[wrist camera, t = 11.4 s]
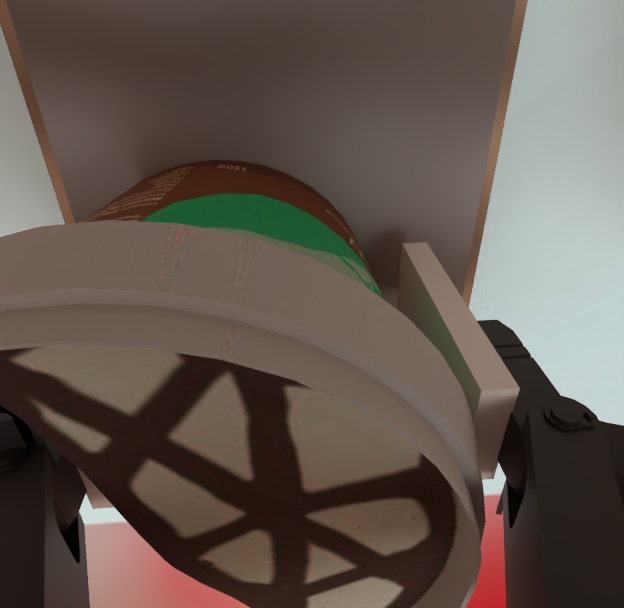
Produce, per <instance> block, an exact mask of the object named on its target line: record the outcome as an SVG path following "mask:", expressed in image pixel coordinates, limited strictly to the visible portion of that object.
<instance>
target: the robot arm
mask: <svg viewBox="0 0 624 608" xmlns="http://www.w3.org/2000/svg"><path fill="white" fill-rule="evenodd" d="M396 309H397V310H398V311H400V312H401V313H402V314H404V315H405V316H406V317H408V318H409V319H410V320H411V321H412V322H413V323H414V324H415V326H416V327H417V328H418V329H419V330H420V331H421V332H422V333H423V334H424V335H425V336H426V337H427V338H428V339H429V341H430V342H431V343H432V344H433V345H434V346H435V347H436V348H437V349H438V350H439V351H440V352H441V354H442V355H443V357H444V359H445V360H446V362H447V364H448V365H449V367H450V368H451V370H452V372H453V373H454V375H455V377H456V378H457V380H458V382H459V383H460V385H461V386H462V389H463V392H464V395H465V397H466V400H467V403H468V406H469V409H470V412H471V415H472V418H473V421H474V428H475V435H476V442H477V449H478V456H479V463H480V470H481V477H482V480H483V479H493V478H494V474H495V471H496V468H497V464H498V462H499V464H500V466H501V468H502V470H503V472H504V474H505V476H506V481H505V484H504V487H503V490H502V494H501V497H500V500H499V503H498V506H497V511H496V514H500V515H501V513H502V511H503V519H504V550H505V580H506V608H624V426H622V425H616V424H611V423H606V422H602V421H599V420H598V418H597V416H596V415H595V414H594V413H593V412H592V411H591V410H590V409H588V408H587V407H586V406H585V405H583V404H581V403H579V402H577V401H575V400H574V399H570V398H567V397H563V396H560V394H559V393H558V391H557V390H556V389H555V387H554V386H553V385H552V383H551V382H550V381H549V379H548V378H547V376H546V375H545V374H544V372H543V371H542V370H541V368H540V367H539V365H538V364H537V363H536V361H535V360H534V359H533V358H531V355H530V353H529V352H528V350H527V349H526V348H525V347H523V344H522V342H521V341H520V339H519V338H518V337H517V335H516V334H515V333H514V331H513V330H511V329H510V328H508V327H507V326H505V325H504V324H503V323H501V322H500V321H498V320H483V321H477V320H476V319H475V317H474V316H473V314H472V313H471V311H470V309H469V308H468V306H467V305H466V303H465V302H464V300H463V298H462V297H461V295H460V294H459V292H458V291H457V289H456V288H455V286H454V284H453V283H452V281H451V280H450V278H449V277H448V275H447V273H446V272H445V270H444V269H443V267H442V266H441V264H440V263H439V261H438V259H437V258H436V256H435V255H434V253H433V252H432V250H431V248H430V247H429V245H428V244H427V242H421V243H402V253H401V263H400V274H399V285H398V296H397V307H396ZM85 494H87V496H88V499H89V501H90V503H91V505H92V507H93V509H96V508H109V507H114V506H113V505H112V504H111V503H110V502H109V501H108V499H107V498H106V497H105V496H104V495H103V494H102V493H101V492H100V491H99V490H98V489H97V487H96V486H95V485H94V484H93V483H92V482H91V481H90V480H89V479H88V478H87V476H86V475H85V474H84V473H83V472H82V471H81V470H80V469H79V468H77V467H76V466H75V465H74V464H73V463H72V462H70V461H69V460H68V459H67V458H66V457H65V456H63V455H62V454H61V453H60V452H59V451H58V450H56V449H55V448H54V447H53V446H52V445H51V444H50V443H48V442H47V441H46V440H45V439H44V438H43V437H41V436H40V435H39V434H38V433H37V432H36V431H34V430H33V429H32V428H31V427H30V426H29V425H27V424H26V423H25V422H24V421H23V420H22V419H20V418H19V417H18V416H16V415H15V414H13V413H12V412H10V411H9V410H7V409H6V408H4V407H3V406H1V405H0V608H90V604H89V589H88V575H87V560H86V546H85V531H84V523H83V520H82V518H81V515H80V513H79V509H80V507H81V504H82V501H83V499H84V496H85Z"/></svg>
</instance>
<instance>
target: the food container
mask: <svg viewBox="0 0 624 608" xmlns="http://www.w3.org/2000/svg"><path fill="white" fill-rule="evenodd" d="M0 405H1V406H3V407H4V408H6V409H7V410H9V411H10V412H12V413H13V414H15V415H16V416H18V417H19V418H20V419H22V420H23V421H24V422H25V423H26V424H27V425H29V426H30V427H31V428H32V429H33V430H34V431H36V432H37V433H38V434H39V435H40V436H41V437H43V438H44V439H45V440H46V441H47V442H48V443H50V444H51V445H52V446H53V447H54V448H55V449H56V450H58V451H59V452H60V453H61V454H62V455H63V456H65V457H66V458H67V459H68V460H69V461H70V462H72V463H73V464H74V465H75V466H76V467H77V468H79V469H80V470H81V471H82V472H83V473H84V474H85V475H86V476H87V478H88V479H89V480H90V481H91V482H92V483H93V484H94V485H95V486H96V487H97V489H98V490H99V491H100V492H101V493H102V494H103V495H104V496H105V497H106V498H107V499H108V501H109V502H110V503H111V504H112V505H113V506H114V507H115V508H116V509H117V510H118V512H119V513H120V514H121V515H122V516H123V517H124V518H125V519H126V520H127V521H128V523H129V524H130V525H131V526H132V527H133V528H134V529H135V530H136V531H137V532H138V534H140V536H141V537H142V538H143V539H145V541H147V542H148V543H149V545H151V546H152V548H153V549H154V550H155V551H156V552H158V554H159V555H160V556H161V557H162V558H163V559H164V560H165V561H167V562H168V563H169V564H170V565H172V566H173V567H174V568H176V569H177V570H179V571H181V572H183V573H185V574H186V575H188V576H190V577H192V578H194V579H195V580H197V581H199V582H200V583H202V584H205V585H207V586H209V587H211V588H213V589H216V590H218V591H220V592H222V593H224V594H227V595H229V596H231V597H233V598H235V599H237V600H238V601H240V602H242V603H244V604H246V605H247V606H249V607H251V608H466V606H467V604H468V602H469V600H470V598H471V595H472V593H473V592H474V590H475V588H476V584H477V579H478V573H479V569H480V564H481V550H480V546H481V541H482V536H483V531H484V526H485V508H484V493H483V484H482V477H481V470H480V463H479V456H478V449H477V442H476V435H475V428H474V421H473V418H472V415H471V412H470V409H469V406H468V403H467V400H466V397H465V395H464V392H463V389H462V386H461V385H460V383H459V382H458V380H457V378H456V377H455V375H454V373H453V372H452V370H451V368H450V367H449V365H448V364H447V362H446V360H445V359H444V357H443V355H442V354H441V352H440V351H439V350H438V349H437V348H436V347H435V346H434V345H433V344H432V343H431V342H430V341H429V339H428V338H427V337H426V336H425V335H424V334H423V333H422V332H421V331H420V330H419V329H418V328H417V327H416V326H415V324H414V323H413V322H412V321H411V320H410V319H409V318H408V317H406V316H405V315H404V314H402V313H401V312H400V311H398V310H397V309H396V308H394V307H393V306H392V305H390V304H389V303H388V302H386V301H385V300H384V299H383V297H382V295H381V293H380V291H379V288H378V286H377V284H376V282H375V279H374V277H373V275H372V273H371V271H370V268H369V266H368V264H367V262H366V260H365V257H364V255H363V253H362V251H361V249H360V246H359V244H358V242H357V240H356V237H355V235H354V233H353V232H352V230H351V229H350V227H349V225H348V224H347V222H346V221H345V219H344V218H343V216H342V215H341V214H340V213H339V212H338V211H337V210H336V208H335V207H334V206H333V205H332V204H331V203H330V202H329V201H328V200H327V199H326V198H324V197H323V196H322V195H321V194H319V193H318V192H317V191H316V190H314V189H313V188H312V187H310V186H309V185H307V184H305V183H303V182H302V181H300V180H298V179H296V178H294V177H293V176H291V175H289V174H286V173H283V172H281V171H278V170H275V169H272V168H270V167H267V166H263V165H258V164H253V163H248V162H243V161H228V160H210V161H201V162H192V163H187V164H183V165H180V166H176V167H172V168H169V169H165V170H163V171H161V172H159V173H157V174H155V175H153V176H150V177H148V178H146V179H144V180H142V181H140V182H139V183H137V184H136V185H135V186H133V187H132V188H130V189H129V190H127V191H126V192H124V193H123V194H121V195H120V196H118V197H117V198H115V199H114V200H112V201H111V202H109V203H108V204H106V205H105V206H103V207H102V208H101V209H99V210H98V211H96V212H95V213H93V214H92V215H90V216H89V217H87V218H86V219H84V220H83V221H81V222H80V223H74V224H64V225H54V226H44V227H37V228H34V229H30V230H26V231H22V232H18V233H15V234H11V235H7V236H3V237H0Z"/></svg>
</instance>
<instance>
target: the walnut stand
mask: <svg viewBox="0 0 624 608" xmlns="http://www.w3.org/2000/svg"><path fill="white" fill-rule="evenodd" d="M527 1H528V0H0V24H1V27H2V30H3V33H4V37H5V40H6V43H7V46H8V49H9V52H10V55H11V58H12V61H13V64H14V67H15V70H16V73H17V76H18V80H19V83H20V86H21V89H22V92H23V95H24V98H25V101H26V104H27V107H28V110H29V113H30V116H31V119H32V123H33V126H34V129H35V132H36V135H37V138H38V141H39V144H40V147H41V150H42V153H43V156H44V159H45V162H46V166H47V169H48V172H49V175H50V178H51V181H52V184H53V187H54V190H55V193H56V196H57V199H58V202H59V205H60V209H61V212H62V215H63V218H64V221H65V224H74V223H80V222H81V221H83V220H84V219H86V218H87V217H89V216H90V215H92V214H93V213H95V212H96V211H98V210H99V209H101V208H102V207H103V206H105V205H106V204H108V203H109V202H111V201H112V200H114V199H115V198H117V197H118V196H120V195H121V194H123V193H124V192H126V191H127V190H129V189H130V188H132V187H133V186H135V185H136V184H137V183H139V182H140V181H142V180H144V179H146V178H148V177H150V176H153V175H155V174H157V173H159V172H161V171H163V170H165V169H169V168H172V167H176V166H180V165H183V164H187V163H192V162H201V161H210V160H228V161H243V162H248V163H253V164H258V165H263V166H267V167H270V168H272V169H275V170H278V171H281V172H283V173H286V174H289V175H291V176H293V177H294V178H296V179H298V180H300V181H302V182H303V183H305V184H307V185H309V186H310V187H312V188H313V189H314V190H316V191H317V192H318V193H319V194H321V195H322V196H323V197H324V198H326V199H327V200H328V201H329V202H330V203H331V204H332V205H333V206H334V207H335V208H336V210H337V211H338V212H339V213H340V214H341V215H342V216H343V218H344V219H345V221H346V222H347V224H348V225H349V227H350V229H351V230H352V232H353V233H354V235H355V237H356V240H357V242H358V244H359V246H360V249H361V251H362V253H363V255H364V257H365V260H366V262H367V264H368V266H369V268H370V271H371V273H372V275H373V277H374V279H375V282H376V284H377V286H378V288H379V291H380V293H381V295H382V297H383V299H384V300H385V301H386V302H388V303H389V304H390V305H392V306H393V307H394V308H396V307H397V296H398V285H399V274H400V263H401V253H402V243H421V242H427V244H428V245H429V247H430V248H431V250H432V252H433V253H434V255H435V256H436V258H437V259H438V261H439V263H440V264H441V266H442V267H443V269H444V270H445V272H446V273H447V275H448V277H449V278H450V280H451V281H452V283H453V284H454V286H455V288H456V289H457V291H458V292H459V294H460V295H461V297H462V298H463V300H464V302H465V303H466V305H467V306H468V308H469V302H470V297H471V292H472V287H473V282H474V276H475V271H476V266H477V261H478V256H479V250H480V245H481V240H482V235H483V230H484V224H485V219H486V214H487V209H488V204H489V198H490V193H491V188H492V183H493V178H494V172H495V167H496V162H497V157H498V152H499V146H500V141H501V136H502V131H503V126H504V120H505V115H506V110H507V105H508V99H509V94H510V89H511V84H512V79H513V73H514V68H515V63H516V58H517V53H518V47H519V42H520V37H521V32H522V27H523V21H524V16H525V11H526V6H527Z"/></svg>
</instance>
